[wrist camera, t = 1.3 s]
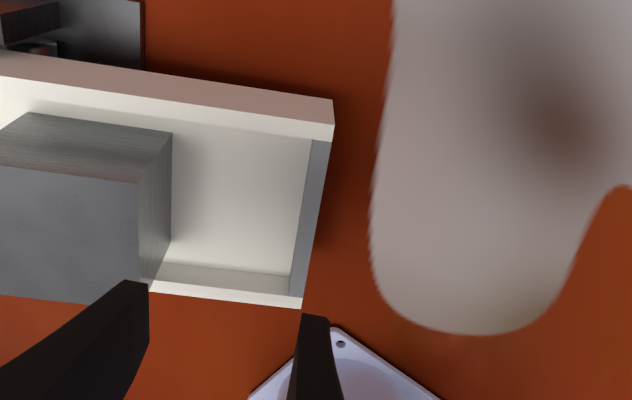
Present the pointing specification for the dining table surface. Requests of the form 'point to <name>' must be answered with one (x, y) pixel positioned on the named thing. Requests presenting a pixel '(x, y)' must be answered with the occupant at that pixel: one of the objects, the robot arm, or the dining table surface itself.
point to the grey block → (81, 206)
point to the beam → (205, 168)
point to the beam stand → (76, 30)
